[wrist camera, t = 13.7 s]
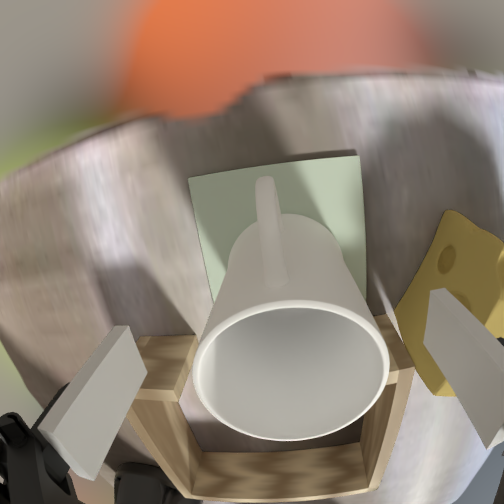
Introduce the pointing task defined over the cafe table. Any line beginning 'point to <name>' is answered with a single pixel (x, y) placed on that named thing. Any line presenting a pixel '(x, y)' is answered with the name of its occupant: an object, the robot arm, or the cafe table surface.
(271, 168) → the mat
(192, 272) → the cafe table surface
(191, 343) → the frame
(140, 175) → the cafe table surface
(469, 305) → the cheese
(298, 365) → the mug
